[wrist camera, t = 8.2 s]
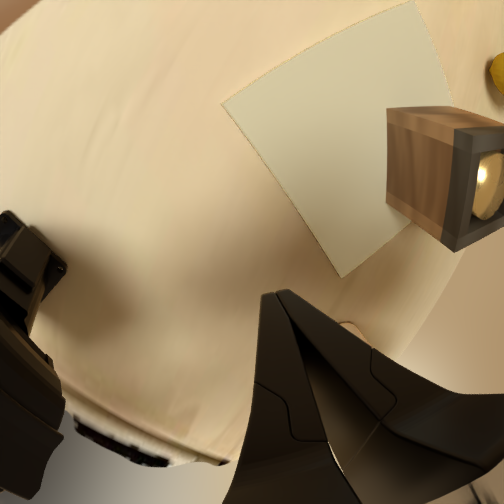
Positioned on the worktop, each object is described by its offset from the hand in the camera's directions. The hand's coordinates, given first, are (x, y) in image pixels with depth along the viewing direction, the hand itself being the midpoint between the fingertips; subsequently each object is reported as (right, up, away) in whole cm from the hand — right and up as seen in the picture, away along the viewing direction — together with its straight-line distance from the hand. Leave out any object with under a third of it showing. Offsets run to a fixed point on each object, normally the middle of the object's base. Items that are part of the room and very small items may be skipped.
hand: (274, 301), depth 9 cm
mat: (+9, +10, +12) cm, 18 cm away
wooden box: (+13, +10, +13) cm, 21 cm away
